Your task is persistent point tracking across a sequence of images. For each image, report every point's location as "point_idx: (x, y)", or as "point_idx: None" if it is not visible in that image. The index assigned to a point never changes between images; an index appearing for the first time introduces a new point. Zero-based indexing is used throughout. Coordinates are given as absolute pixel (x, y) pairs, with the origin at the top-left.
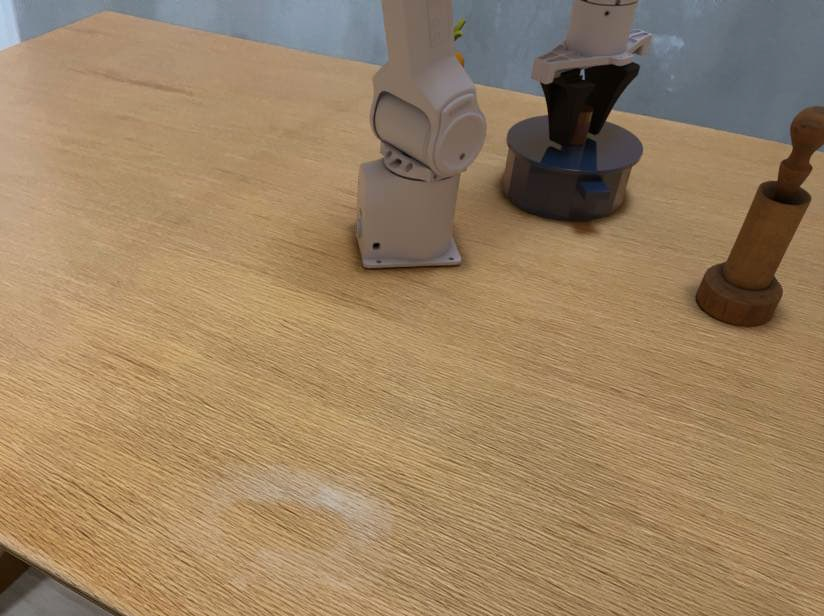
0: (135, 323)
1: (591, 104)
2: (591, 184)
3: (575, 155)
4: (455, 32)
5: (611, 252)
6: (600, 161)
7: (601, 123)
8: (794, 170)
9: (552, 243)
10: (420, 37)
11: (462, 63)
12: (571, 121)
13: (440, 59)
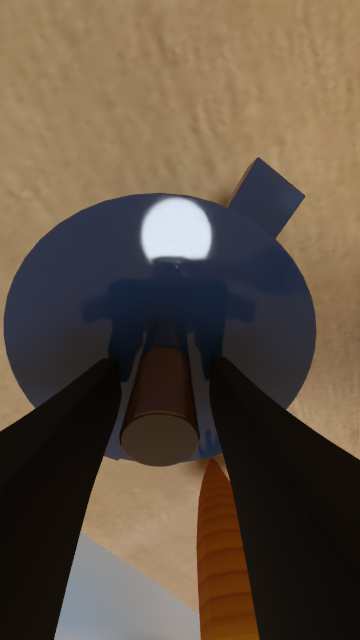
0: None
1: (92, 446)
2: (261, 221)
3: (224, 318)
4: None
5: (263, 121)
6: (201, 260)
7: (100, 372)
8: None
9: (306, 216)
10: None
11: (222, 636)
12: (268, 398)
13: None
